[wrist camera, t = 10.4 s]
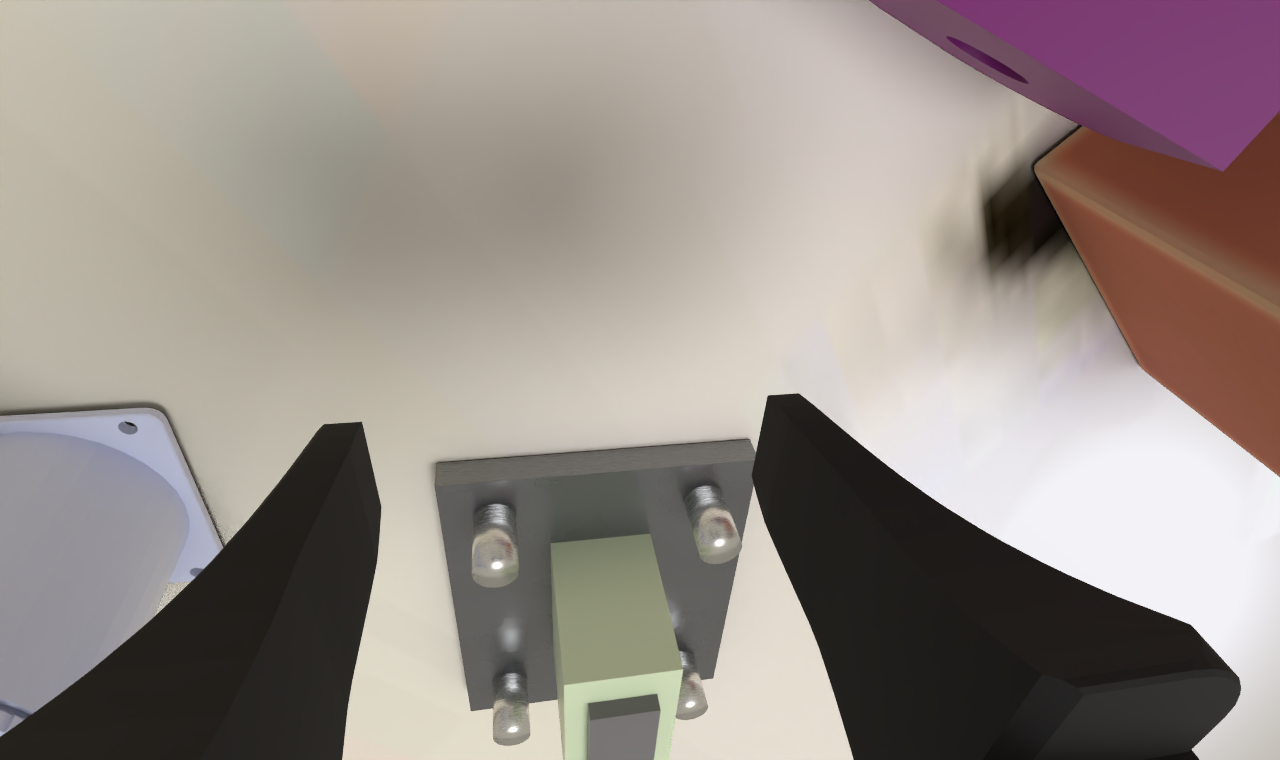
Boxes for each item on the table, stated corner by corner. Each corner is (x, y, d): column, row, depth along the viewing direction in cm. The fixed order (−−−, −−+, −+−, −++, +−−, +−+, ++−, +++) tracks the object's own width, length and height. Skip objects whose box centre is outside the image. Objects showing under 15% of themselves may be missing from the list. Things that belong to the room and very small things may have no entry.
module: (553, 646, 32) (566, 802, 27) (550, 543, 28) (565, 702, 23) (640, 636, 33) (670, 785, 27) (650, 533, 28) (687, 686, 23)
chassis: (471, 687, 35) (470, 764, 32) (436, 463, 26) (430, 540, 23) (707, 656, 37) (726, 726, 34) (749, 439, 28) (780, 507, 25)
